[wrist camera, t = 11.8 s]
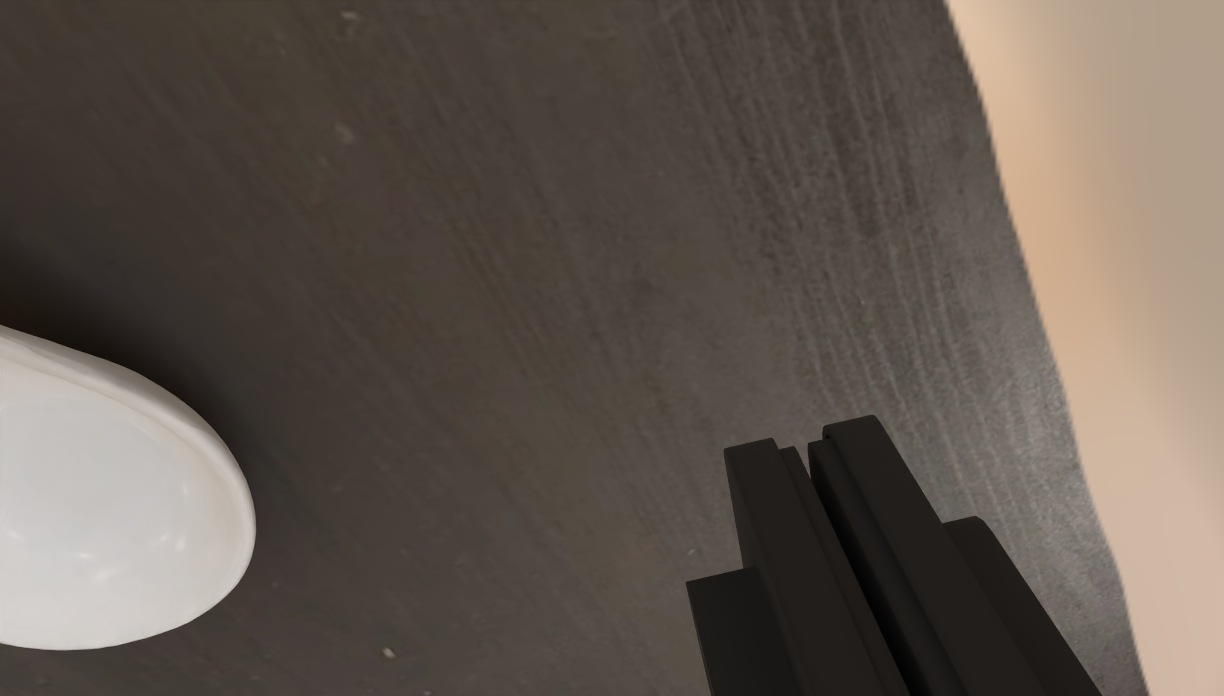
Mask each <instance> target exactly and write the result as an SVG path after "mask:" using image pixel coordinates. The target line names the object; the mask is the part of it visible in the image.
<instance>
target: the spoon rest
mask: <svg viewBox="0 0 1224 696" xmlns="http://www.w3.org/2000/svg"><path fill="white" fill-rule="evenodd" d="M255 536H256V517H255V511H254V504H253V500H252V497H251V493H250V490H249V487H248V484H247V481H246V479H245V477H244V475H243V473H242V471H241V469H240V467H239V465H238V463H237V461H236V460H235V458H234V456H233V455H232V453H231V451H230V450H229V448H228V447H227V445H226V444H225V443H224V442H223V440H222V439H221V438H220V436H219V435H218V434H217V433H216V432H215V430H214V429H213V428H212V427H211V426H210V425H209V424H208V423H207V422H206V421H205V420H204V419H203V418H202V417H201V416H200V415H199V414H198V413H197V412H195V411H194V410H193V409H192V408H191V407H189V406H188V405H187V404H185V403H184V402H183V401H181V400H180V399H179V398H177V397H176V396H175V395H173V394H171V393H170V392H168V391H167V390H165V389H164V388H162V387H161V386H159V385H157V384H156V383H154V382H152V381H151V380H149V379H147V378H146V377H144V376H142V375H140V374H139V373H136V372H134V371H132V370H130V369H128V368H125V367H123V366H120V365H118V364H115V363H113V362H110V361H108V360H105V359H102V358H99V357H96V356H93V355H90V354H87V353H84V352H80V351H77V350H74V349H71V348H69V347H66V346H63V345H60V344H57V343H55V342H52V341H49V340H46V339H42V338H39V337H36V336H33V335H30V334H26V333H23V332H20V331H17V330H14V329H11V328H8V327H5V326H2V325H0V643H3V644H8V645H13V646H19V647H27V648H37V649H46V650H77V649H94V648H103V647H108V646H115V645H120V644H124V643H128V642H132V641H136V640H140V639H144V638H147V637H151V636H154V635H157V634H160V633H163V632H166V631H168V630H171V629H174V628H177V627H179V626H181V625H183V624H186V623H188V622H190V621H192V620H193V619H195V618H197V617H198V616H200V615H202V614H203V613H205V612H206V611H208V610H209V609H211V608H212V607H213V606H215V605H216V604H217V603H218V602H220V601H221V600H222V599H223V598H224V597H225V596H226V595H227V594H228V593H229V592H230V591H232V590H233V589H234V587H235V586H236V585H237V584H238V582H239V581H240V579H241V578H242V576H243V575H244V573H245V571H246V569H247V567H248V565H249V562H250V560H251V557H252V553H253V548H254V543H255Z"/></svg>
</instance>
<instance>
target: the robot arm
mask: <svg viewBox="0 0 1224 696" xmlns="http://www.w3.org/2000/svg"><path fill="white" fill-rule="evenodd" d="M822 435H823V440H818V441H814V442H810V443H808V458H809V467H810V475H811V479H810V477H809V475H808V473H807V471H806V469H805V466H804V464H803V462H802V460H801V458H800V456H799V453H798V451H797V450H796V448H795V447H794V446H792V447H788V448H783V449H779V450H778V447H777V445H776V443H775V441H774V439H772V438H768V439H764V440H759V441H755V442H750V443H746V444H742V445H737V446H733V447H729V448H724V458H725V465H726V470H727V476H728V482H729V488H730V493H731V499H732V505H733V511H734V516H735V522H736V528H737V533H738V539H739V545H740V551H741V556H742V562H743V568H744V569H740V570H736V571H731V572H727V573H723V574H718V575H714V576H710V577H705V578H701V579H696V580H692V581H688V582H686V587H687V591H688V596H689V601H690V605H691V610H692V614H693V619H694V623H695V628H696V632H697V637H698V641H699V646H700V650H701V654H702V659H703V663H704V667H705V671H706V676H707V680H708V684H709V688H710V693H711V696H1102V695H1101V693H1100V692H1099V690H1098V689H1097V687H1096V686H1095V684H1094V683H1093V681H1092V680H1091V678H1090V677H1089V675H1088V674H1087V672H1086V671H1085V669H1084V668H1083V666H1082V665H1081V663H1080V662H1079V660H1078V659H1077V657H1076V656H1075V654H1074V653H1073V651H1072V650H1071V649H1070V647H1069V646H1068V644H1067V643H1066V641H1065V640H1064V638H1063V637H1062V635H1061V634H1060V632H1059V631H1058V629H1057V628H1056V626H1055V625H1054V623H1053V622H1052V620H1051V619H1050V617H1049V616H1048V614H1047V613H1046V611H1045V610H1044V608H1043V607H1042V605H1041V604H1040V602H1039V601H1038V599H1037V598H1036V596H1035V595H1034V593H1033V592H1032V590H1031V589H1030V587H1029V586H1028V584H1027V583H1026V581H1025V580H1024V578H1023V577H1022V576H1021V574H1020V573H1019V571H1018V570H1017V568H1016V567H1015V565H1014V564H1013V562H1012V561H1011V559H1010V558H1009V556H1008V555H1007V553H1006V552H1005V550H1004V549H1003V547H1002V546H1001V544H1000V543H999V541H998V540H997V538H996V537H995V535H994V534H993V532H992V531H991V530H990V528H989V527H988V526H987V525H986V523H985V522H984V521H983V520H982V519H980V518H978V517H977V516H972V517H968V518H964V519H959V520H955V521H950V522H946V523H941V521H940V519H939V518H938V516H937V515H936V513H935V511H934V510H933V508H932V506H931V505H930V503H929V501H928V500H927V498H926V497H925V495H924V493H923V492H922V490H921V488H920V487H919V485H918V483H917V482H916V480H915V479H914V477H913V475H912V474H911V472H910V470H909V469H908V467H907V465H906V464H905V462H904V461H903V459H902V457H901V456H900V454H899V452H898V451H897V449H896V447H895V446H894V444H893V443H892V441H891V439H890V438H889V436H888V434H887V433H886V431H885V429H884V428H883V426H882V425H881V423H880V421H879V420H878V419H877V417H876V416H874V415H868V416H864V417H860V418H855V419H851V420H846V421H842V422H838V423H833V424H829V425H825V426H824V427H823V432H822Z"/></svg>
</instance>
